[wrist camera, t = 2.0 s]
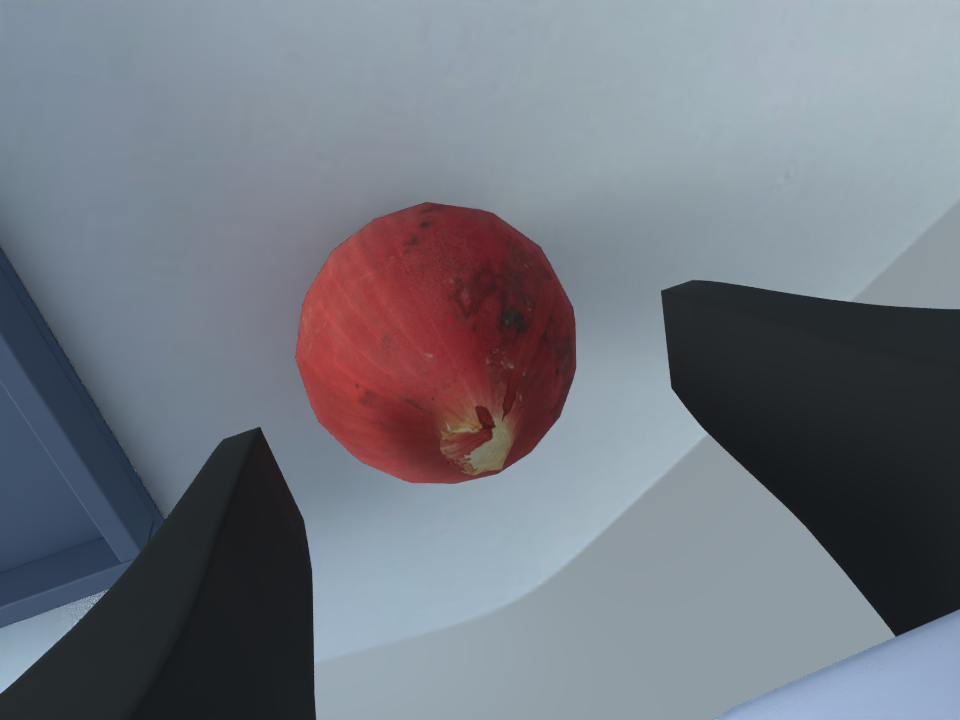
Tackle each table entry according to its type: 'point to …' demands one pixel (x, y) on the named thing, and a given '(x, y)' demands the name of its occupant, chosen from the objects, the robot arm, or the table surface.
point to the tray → (57, 474)
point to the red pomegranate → (437, 344)
